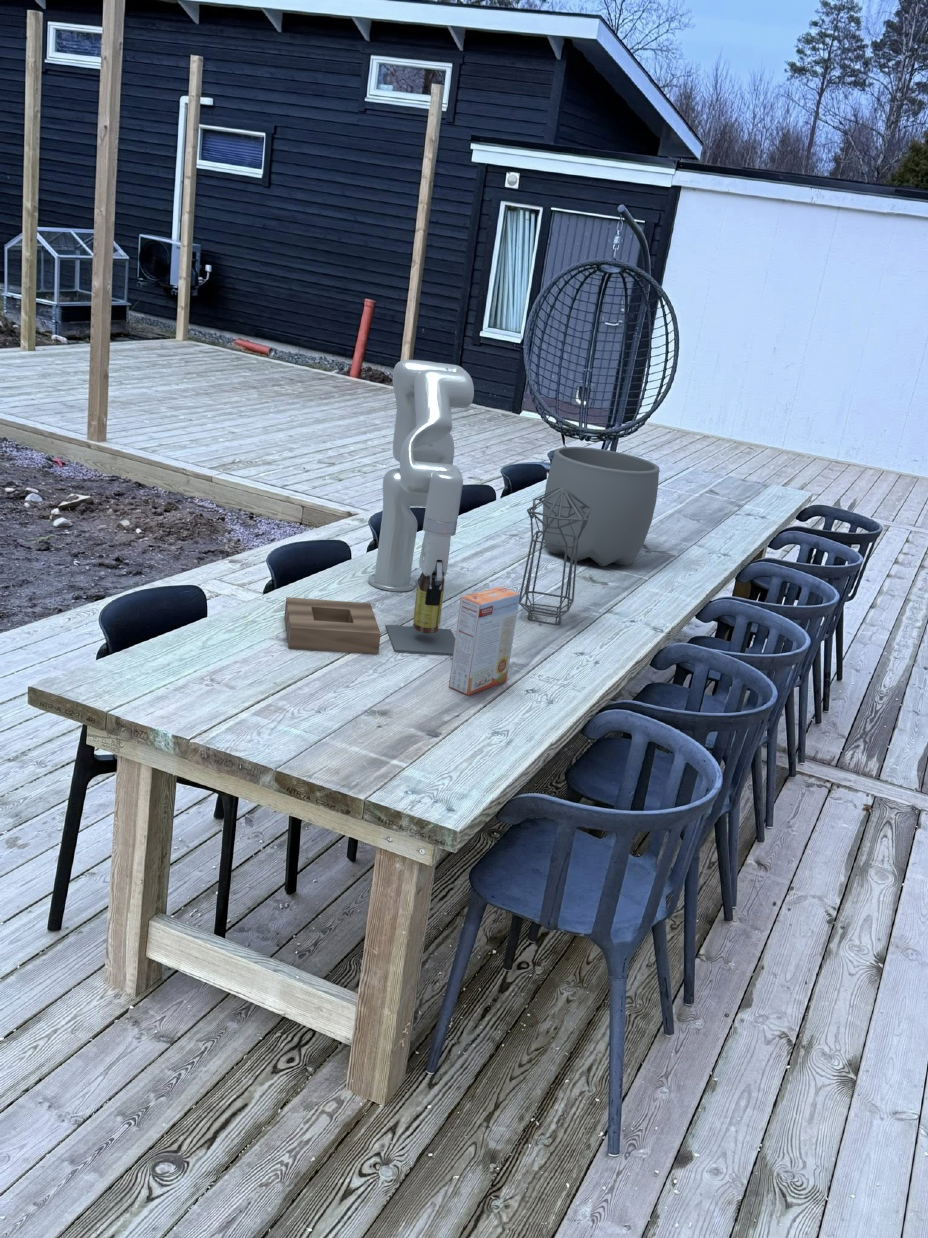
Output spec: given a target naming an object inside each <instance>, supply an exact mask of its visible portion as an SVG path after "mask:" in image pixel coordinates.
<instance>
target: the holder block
mask: <svg viewBox="0 0 928 1238" xmlns="http://www.w3.org/2000/svg"><path fill="white" fill-rule="evenodd" d="M283 617H284V618H283V619H284V624H285V625H284V626H285V631H286V638H287V639H286V640H287V646H288V647H287V648H288V650H289V649H290V650H302V651H304V650H305V651H319V652H335V653H351V654H353V653H354V654H369V655H379V652H380V651H379V650H380V642H381V637H382V636H381V635H382V633H381V630H380V626H379V624H378V621H377V618H376V615H375V612H374V610H373V608H372V604H371V603H369V602H360V601H359V602H358V601H357V602H356V601H344V600H343V601H341V600H332V599H331V600H330V599H319V598H318V599H316V598H305V597H293V596H292V597H290V596H285V607H284V616H283Z"/></svg>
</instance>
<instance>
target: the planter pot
mask: <svg viewBox="0 0 928 1238" xmlns="http://www.w3.org/2000/svg"><path fill="white" fill-rule="evenodd" d="M659 475H660V466H659V465H657V464H655V463H654V462H653V461H650V460H647V459H644V458H642V457H639V456H635V455H631V454H627V453H623V452H618V451H613V450H608V449H602V448H593V447H583V446H563V447H558V448H555V450H554V453H553V457H552V461H551V464H550V467H549V472H548V475H547V479H546V484H545V490H544V494H546V493H548V492H550V491H552V490H555V489H557V488H565V489H567V490H568V491H569V492H571V493H572V494H573V495H575V496H576V497H577V498H579V499H580V500H581V501H583V502H584V503H585V504H587V505H588V506H589V507H591V508H592V509H591V511H590V513H589V517H588V521H587V525H585V528H584V529H583V531H582V534H581V536H580V538H579V541H578V552H577V562H579V561H582V560H585V559H587V558H590V559H592V561H593V562H595V563H596V564H597V565H599V567H606V566H608V565H609V564H611V563H614V564H618V565H620V566H630V565H632V563H633V562H634V560H635V559H636V557H637V556H638V554H639V553H640V551H641V550H642V548H643V546H644V545H645V542H646V538H647V536H648V533H649V531H650V528H651V525H652V522H653V518H654V512H655V510H656V509H655V508H656V504H657V498H658V492H659V491H658V490H659V489H658V488H659V478H660V477H659ZM559 493H560V492H558V493H557V494H556V495H554V496H553V497H552V498H550V499H549V500H548V501H549V502H553V503H554V502H555V500H556V498H557V496H558V495H559ZM544 494H543V495H544ZM546 495H547V494H546ZM544 496H545V495H544ZM560 498H561V495H560V497H559V499H558V501H557V503H556V504H559V503H560ZM575 501H576V502H577V503H578V504H579V505H583V504H581V503H580V502H579V501H577V500H576V499H575ZM546 504H547V505H548V506H549V507H550V508H551V507H552V506H553V505H552V504H549V503H546ZM562 505H564V506H569V504H568V501H567V498H566V496H565V495H563V501H562ZM581 508H582V507H581ZM588 509H589V508H587V507H586V508H584V509H583V510H584V511H585V512H586V514H587V511H588ZM553 510H554V511H555V512H556V513H558V510H559V506H556V505H555V506H554V508H553ZM569 510H570V508H564V507H562V509H561V515H564V516H568V513H569ZM549 511H550V509H548V508H547V507H546V506H545V505H544V504H543V505H542V513H543V514H547V515H548V513H549ZM573 512H575V511H574V510H573V508H571V511H570V514H572V513H573ZM578 513H579V512H578ZM579 514H580V513H579ZM555 515H556V514H554V513H553V512H551V514H550V516H555ZM580 516H581V515H580ZM556 517H558V516H556ZM560 518H563V517H560ZM569 518H576V519H579V518H578V516H577V515H576V514H574V515H572V516H570V517H569ZM581 518H582V516H581ZM552 519H553V518H548V524H549V523H550V521H551V520H552ZM582 519H583V518H582ZM542 521H543V522H544V523H545V524H546V525H547V517H546V516H542ZM569 521H570V522H573V520H569ZM569 521H568V520H559V526H561V525H564V524H567V523H569ZM582 523H583V521H582V520H581V521H579V522H576V523H573V524H571V526H572V528H573V531H574V533H575V536H576V537H577V535H578V533H579V531H580V529H581V526H582ZM541 524H542V523H541ZM550 526H554V527H558V519H554V520H553V522H552V523H551V524H550ZM571 526H570V525H568V526H565V527H562V528H561V530H562V533H563V534H568V535H574V534H573V531H572V529H571ZM545 528H546V527H545V526H544V525H543V524H542V531H544V529H545ZM546 531H549V532H555V533H560V530H559V529H551V528H547V530H546ZM564 537H565V539H566V542H567V544H568V546H572V545H573V539H574V537H571V536H565V535H564ZM543 542H548V543H554V544H560V545H565V546H566V544H565V542H564V540H563V537H562V535H559V534H552V533H546V532H545V535H544V540H543ZM575 543H576V542H575ZM545 545H546V549H547V550H548V551H549V552H550V553H553V554H558V555H559V554H562V555H565V549H566V547H563V546H557V545H551V544H545ZM575 551H576V546H575V547H574V554H573V562H575ZM571 553H572V548H567V557H569V559H571Z"/></svg>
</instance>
